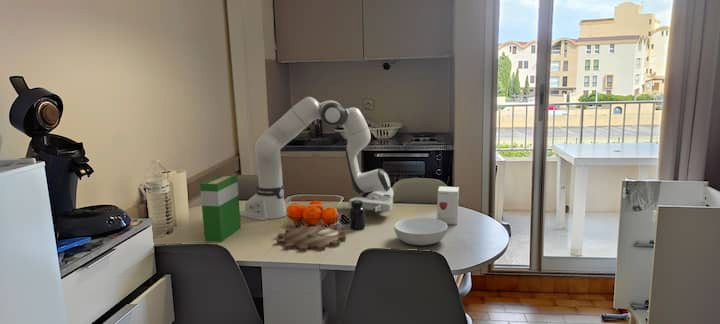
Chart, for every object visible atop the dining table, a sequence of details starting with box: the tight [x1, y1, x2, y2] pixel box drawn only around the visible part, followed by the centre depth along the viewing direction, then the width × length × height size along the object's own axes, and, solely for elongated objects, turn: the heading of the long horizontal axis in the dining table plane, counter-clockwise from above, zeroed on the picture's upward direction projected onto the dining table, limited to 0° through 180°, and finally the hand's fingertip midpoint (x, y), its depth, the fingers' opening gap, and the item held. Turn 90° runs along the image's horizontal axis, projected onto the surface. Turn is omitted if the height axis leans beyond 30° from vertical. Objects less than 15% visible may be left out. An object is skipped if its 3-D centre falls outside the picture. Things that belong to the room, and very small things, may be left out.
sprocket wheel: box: [276, 224, 347, 253], centre depth 200 cm, size 28×28×2 cm
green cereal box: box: [199, 173, 242, 243], centre depth 205 cm, size 18×7×24 cm, turn 168°
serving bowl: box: [393, 217, 449, 246], centre depth 194 cm, size 21×21×7 cm
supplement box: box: [436, 186, 460, 225], centre depth 218 cm, size 9×9×15 cm
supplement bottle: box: [348, 200, 366, 231], centre depth 211 cm, size 7×7×12 cm
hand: (364, 208), depth 218 cm, fingers open, 8 cm apart
